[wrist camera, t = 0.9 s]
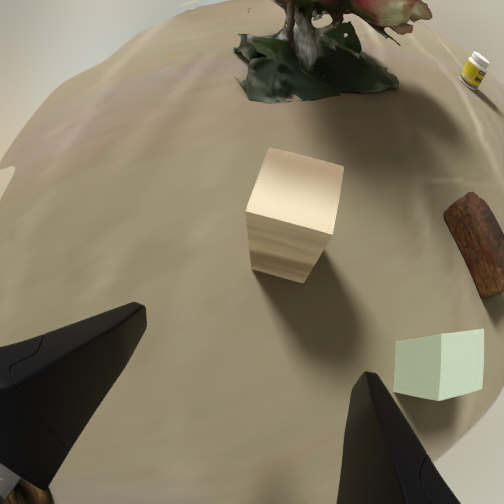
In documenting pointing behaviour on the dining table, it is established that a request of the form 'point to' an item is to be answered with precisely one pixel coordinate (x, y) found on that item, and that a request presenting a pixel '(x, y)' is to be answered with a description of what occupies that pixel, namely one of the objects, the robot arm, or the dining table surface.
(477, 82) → the supplement bottle
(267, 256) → the maple block
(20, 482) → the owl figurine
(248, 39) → the rose bouquet
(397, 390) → the sage block
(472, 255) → the brick
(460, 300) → the dining table surface
